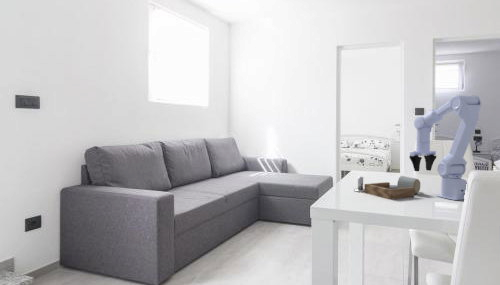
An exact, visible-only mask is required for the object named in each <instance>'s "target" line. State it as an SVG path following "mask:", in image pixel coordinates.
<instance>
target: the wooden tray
mask: <svg viewBox="0 0 500 285" xmlns="http://www.w3.org/2000/svg"><path fill="white" fill-rule="evenodd" d="M390 185H391V183H390V182H387V181H385V182H374V183H373V182H372V183H364V185H363V189H364V192H363V193H365V194H368V195H371V196H375V197H379V198H382V199H387V200H398V199H399V200H400V199H406V198H407V199H408V197H409V198H414V197H415V194H414V188H413V187H409V188H398V189H390Z"/></svg>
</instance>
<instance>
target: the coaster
mask: <svg viewBox="0 0 500 285" xmlns="http://www.w3.org/2000/svg"><path fill="white" fill-rule="evenodd" d="M390 189H397V184H394V185H393V184H390Z"/></svg>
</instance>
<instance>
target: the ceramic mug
mask: <svg viewBox="0 0 500 285" xmlns="http://www.w3.org/2000/svg"><path fill="white" fill-rule="evenodd" d="M396 185H397V189H398V188H409V187H413V188H414V195H417V194H419V193H420V191H421V180H419V179H418V178H415V177H412V176H411V177H409V176H405V175H401V176H399V177H398V180H397V184H396Z"/></svg>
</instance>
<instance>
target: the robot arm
mask: <svg viewBox="0 0 500 285" xmlns="http://www.w3.org/2000/svg"><path fill="white" fill-rule="evenodd" d="M482 106H483V103H482V101H481V98H480V97H479V96H478V95H459V94H455V95H453V96H452V97H450V98H449V100H448V101H447V102H446V103H444V104H443V105H442V106H440V107H439V108H438V109H437V108H431V109H429V112H427V113H425V114H423V115H422V116H416V117H415V119H414V121H413V126H414V128H415V129H416V150H415V151H409V160H410V161H411V163H412V166H413V170H414V172H420V167H421V161H422V159H423V158H424V161H425V169H426V171H431V170H432V167H433V164H434V163H435V160H436V158H437V152H436V150H431V148H430V147H431V132H432V128H433V126H434V124H436V123H438V122H440V121H441V120H443V117H444V116H445V115H447V114H449V113H450V112H452V111H453V112H454V113H455V114H456V116H457V117H458V118H460V124H459V126H458V129H457V131H456V134H455V136H454V140H453V142H452V144H451V147H450V150H449V151H448V154H447V155H445V156H443V157H442V159H441V161H440V162H438V164H437V167H436V168H437V173H438V175H439V176H440V177H441V185H440V186H441V188H440V194H436V197H439V198H443V199H448V200H452V201H460V200H465V199H464V195H465V190H466V184H467V185H468V182H467V180H466V179H464V178H463V175H465V173H466V169H467V168H466V165H467V160H466V159H465V158H464V156H465V154H466V151H467V149H468V147H469V143H470V142H471V139H472V136H473V134H474V132H475V129H476V126H477V125H478V122H479V116H480V111H481V108H482ZM421 156H422V157H423V158H422V157H421Z"/></svg>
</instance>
